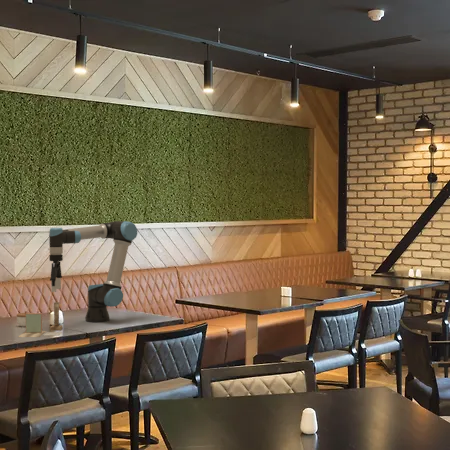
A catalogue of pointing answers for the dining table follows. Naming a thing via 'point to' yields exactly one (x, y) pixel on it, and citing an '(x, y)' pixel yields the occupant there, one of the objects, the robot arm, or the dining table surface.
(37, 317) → the tile
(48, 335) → the rest pad
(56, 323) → the pusher
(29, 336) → the board
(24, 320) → the lidded jar
